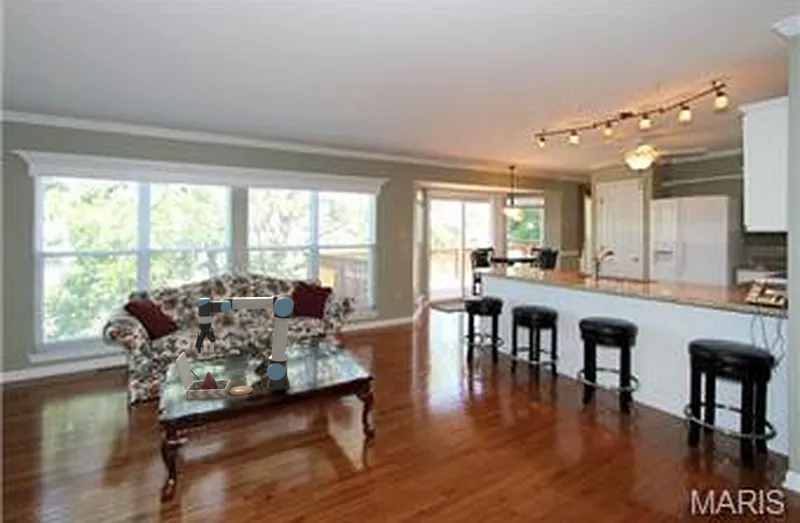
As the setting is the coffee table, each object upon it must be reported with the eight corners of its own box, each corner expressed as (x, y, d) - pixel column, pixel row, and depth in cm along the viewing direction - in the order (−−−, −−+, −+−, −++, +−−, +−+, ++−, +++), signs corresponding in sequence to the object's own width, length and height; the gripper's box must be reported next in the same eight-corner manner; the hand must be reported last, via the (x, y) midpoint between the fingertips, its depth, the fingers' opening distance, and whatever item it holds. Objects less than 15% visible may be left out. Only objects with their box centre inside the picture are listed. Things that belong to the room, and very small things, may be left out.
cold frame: (230, 386, 339) (230, 368, 338) (226, 397, 319) (226, 377, 318) (190, 388, 334) (190, 369, 333) (183, 398, 314) (183, 379, 313)
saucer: (253, 387, 339) (253, 385, 339) (251, 394, 325) (251, 393, 325) (230, 387, 337) (230, 386, 336) (227, 395, 322) (227, 394, 322)
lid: (184, 351, 331) (183, 352, 331) (177, 360, 312) (175, 360, 312) (193, 379, 334) (191, 380, 334) (186, 389, 314) (185, 390, 314)
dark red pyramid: (201, 395, 330) (198, 373, 331) (218, 392, 333) (215, 369, 335) (200, 397, 320) (197, 373, 321) (217, 393, 323) (214, 370, 325)
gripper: (210, 318, 329) (211, 349, 331) (188, 326, 305) (189, 360, 307) (220, 318, 328) (221, 350, 330) (199, 326, 304) (200, 360, 305)
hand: (206, 355), depth 318 cm, fingers open, 13 cm apart
